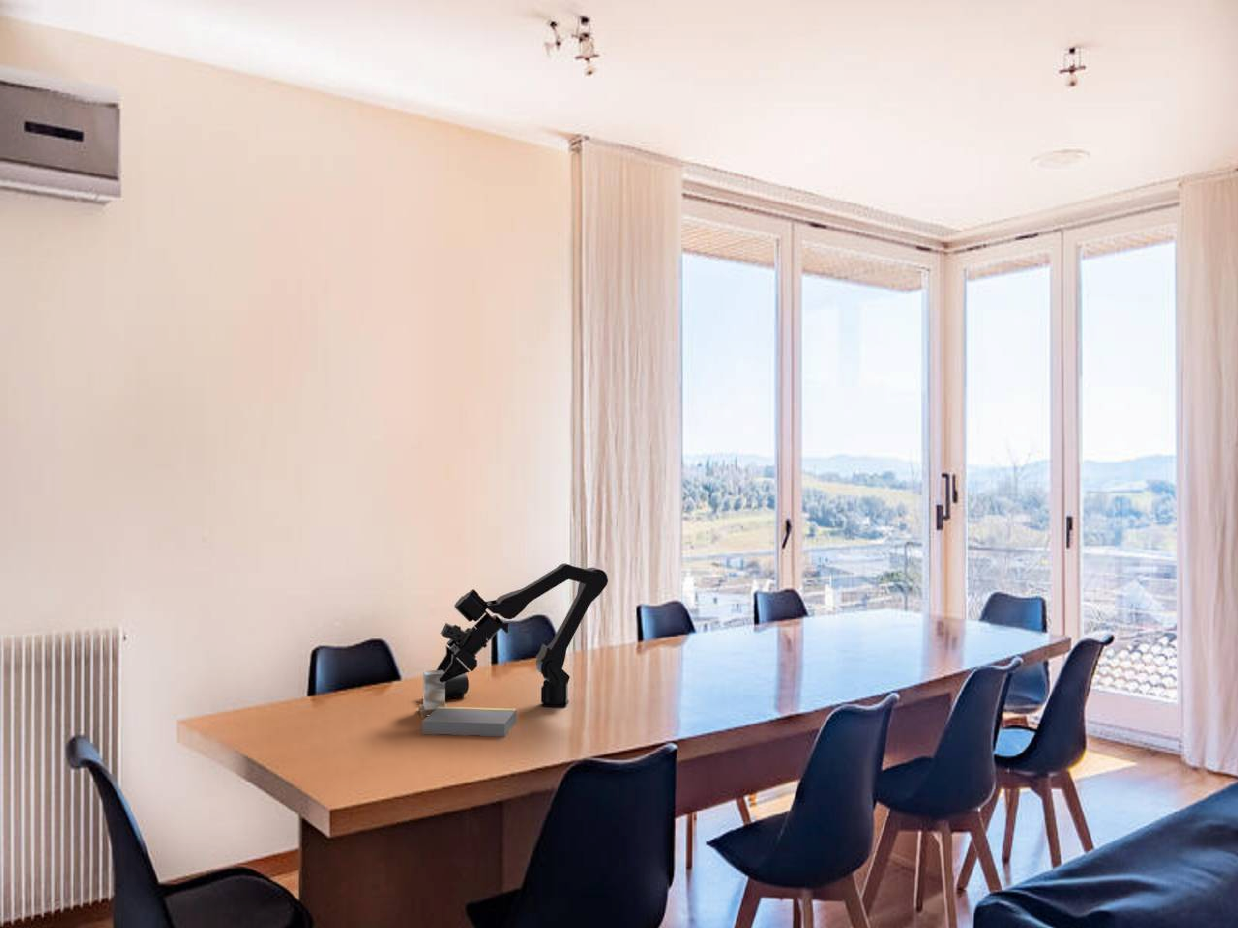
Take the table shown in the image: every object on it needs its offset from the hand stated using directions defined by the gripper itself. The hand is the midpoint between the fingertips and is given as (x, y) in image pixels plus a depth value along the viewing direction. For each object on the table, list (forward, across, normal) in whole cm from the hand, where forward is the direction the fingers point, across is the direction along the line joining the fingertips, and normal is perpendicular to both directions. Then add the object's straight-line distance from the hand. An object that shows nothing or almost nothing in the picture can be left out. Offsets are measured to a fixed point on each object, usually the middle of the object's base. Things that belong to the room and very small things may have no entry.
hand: (438, 677), depth 242 cm
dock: (+2, +17, +11) cm, 20 cm away
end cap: (+4, -16, +10) cm, 19 cm away
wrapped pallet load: (+7, 0, +6) cm, 9 cm away
